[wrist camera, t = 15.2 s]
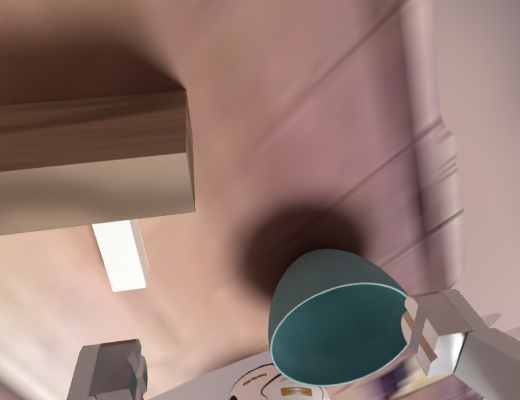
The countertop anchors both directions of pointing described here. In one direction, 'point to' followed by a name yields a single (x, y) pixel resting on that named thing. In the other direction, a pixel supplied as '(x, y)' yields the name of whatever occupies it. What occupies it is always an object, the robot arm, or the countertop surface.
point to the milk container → (273, 387)
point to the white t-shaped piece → (123, 254)
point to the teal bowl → (335, 319)
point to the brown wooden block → (95, 161)
